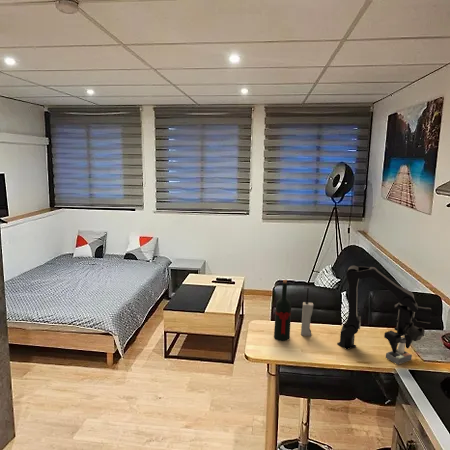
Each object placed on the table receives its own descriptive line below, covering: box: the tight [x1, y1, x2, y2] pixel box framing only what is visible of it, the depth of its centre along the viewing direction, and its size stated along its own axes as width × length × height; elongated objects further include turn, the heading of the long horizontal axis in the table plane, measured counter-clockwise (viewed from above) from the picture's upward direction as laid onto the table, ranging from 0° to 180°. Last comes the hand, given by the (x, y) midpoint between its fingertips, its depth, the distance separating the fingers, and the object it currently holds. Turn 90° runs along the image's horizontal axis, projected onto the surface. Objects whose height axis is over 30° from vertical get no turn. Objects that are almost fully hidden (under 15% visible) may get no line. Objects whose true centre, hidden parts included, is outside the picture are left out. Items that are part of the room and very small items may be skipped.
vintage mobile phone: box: [300, 287, 314, 337], centre depth 196 cm, size 4×5×25 cm
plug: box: [397, 336, 406, 355], centre depth 177 cm, size 3×3×9 cm
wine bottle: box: [273, 279, 292, 342], centre depth 190 cm, size 8×10×30 cm
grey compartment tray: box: [385, 348, 413, 366], centre depth 176 cm, size 9×6×3 cm
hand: (400, 350), depth 177 cm, fingers open, 9 cm apart
